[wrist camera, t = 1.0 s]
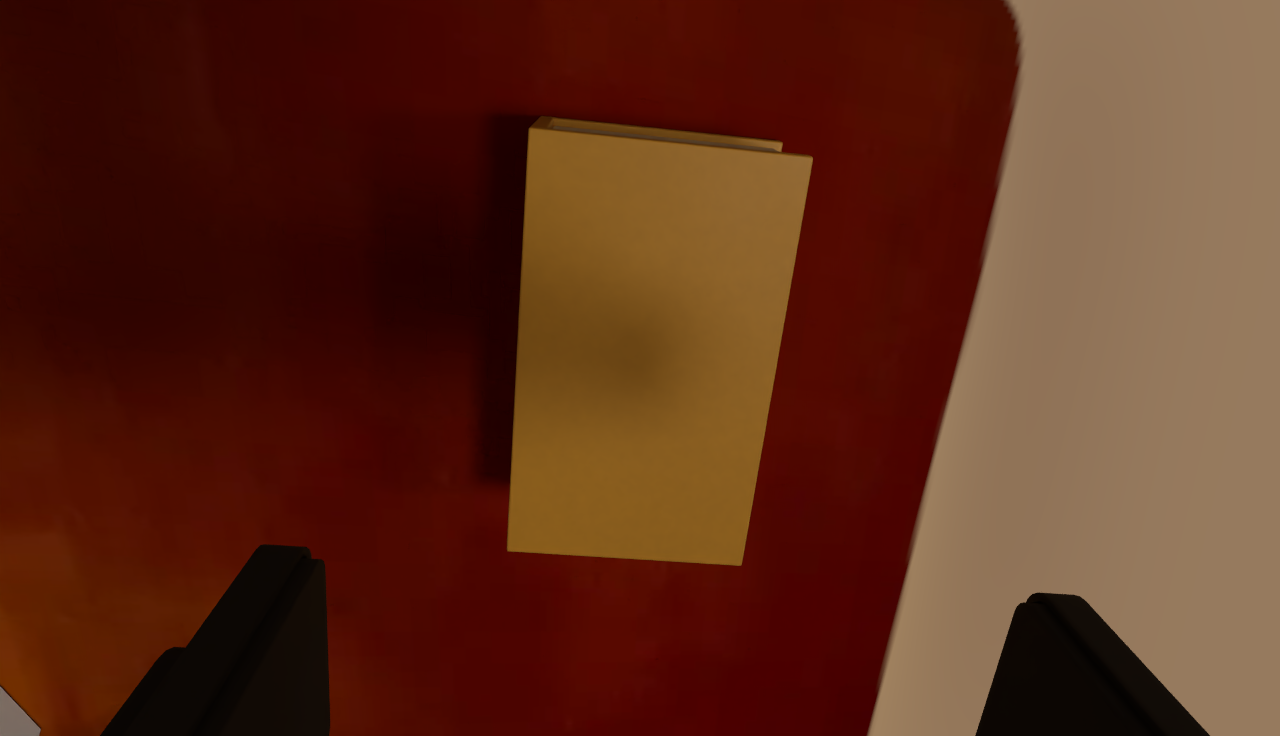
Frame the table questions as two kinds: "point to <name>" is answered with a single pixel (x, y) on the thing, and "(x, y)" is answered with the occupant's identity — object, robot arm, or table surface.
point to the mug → (15, 719)
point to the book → (648, 337)
